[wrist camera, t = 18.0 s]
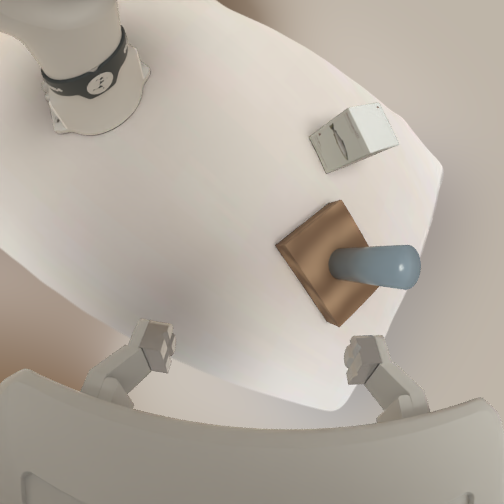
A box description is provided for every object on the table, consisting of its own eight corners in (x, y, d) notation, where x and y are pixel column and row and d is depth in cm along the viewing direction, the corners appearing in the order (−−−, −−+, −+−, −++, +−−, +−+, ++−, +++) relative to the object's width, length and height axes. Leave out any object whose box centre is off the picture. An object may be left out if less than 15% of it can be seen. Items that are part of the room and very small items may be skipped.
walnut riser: (275, 245, 42) (284, 245, 38) (328, 203, 44) (341, 199, 40) (326, 321, 44) (339, 327, 40) (371, 277, 47) (385, 279, 43)
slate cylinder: (322, 260, 39) (386, 263, 26) (344, 241, 40) (410, 236, 27) (338, 286, 40) (403, 298, 27) (359, 266, 41) (425, 270, 28)
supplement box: (307, 136, 43) (346, 105, 31) (338, 128, 45) (379, 100, 33) (324, 175, 44) (370, 153, 32) (354, 164, 46) (401, 144, 34)
